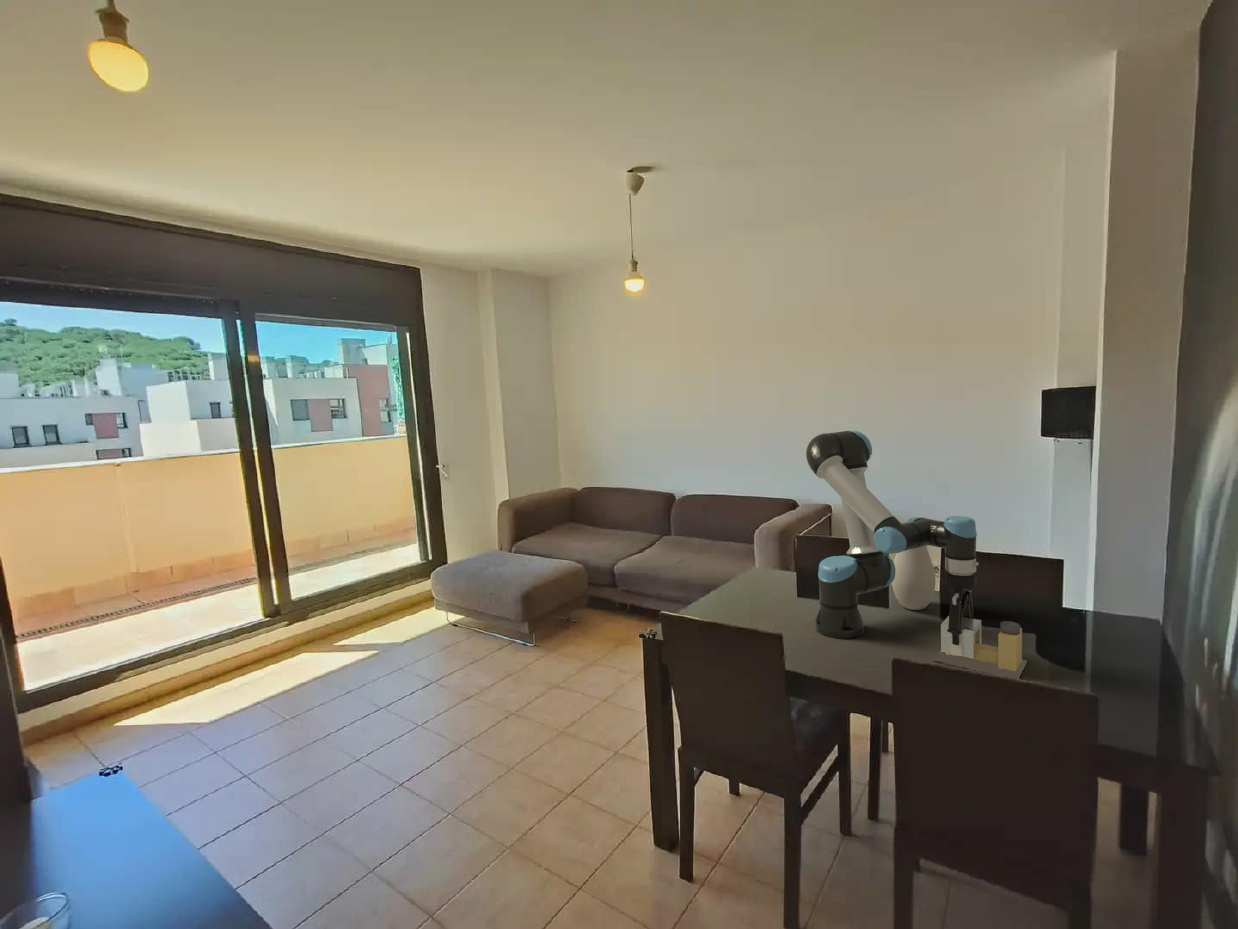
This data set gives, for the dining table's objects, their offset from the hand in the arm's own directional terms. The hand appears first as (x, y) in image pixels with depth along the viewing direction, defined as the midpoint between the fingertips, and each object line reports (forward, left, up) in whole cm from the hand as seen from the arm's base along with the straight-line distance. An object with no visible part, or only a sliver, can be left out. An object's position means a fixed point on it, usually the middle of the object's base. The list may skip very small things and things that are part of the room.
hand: (961, 648), depth 163 cm
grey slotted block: (0, 0, 0) cm, 0 cm away
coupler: (+5, 0, -3) cm, 5 cm away
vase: (-22, +32, -3) cm, 39 cm away
